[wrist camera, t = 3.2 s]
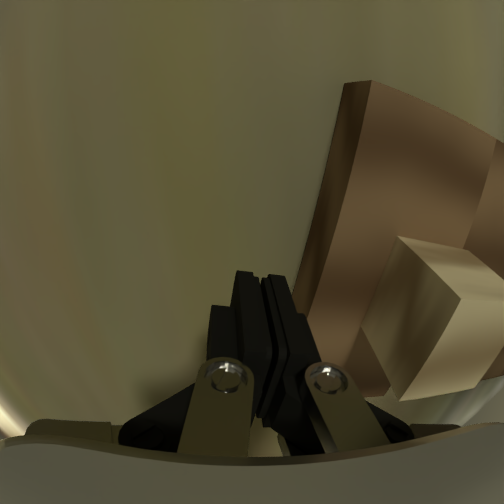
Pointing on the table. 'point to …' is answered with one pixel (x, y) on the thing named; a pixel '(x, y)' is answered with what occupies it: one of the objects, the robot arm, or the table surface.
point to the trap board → (393, 213)
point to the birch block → (435, 319)
